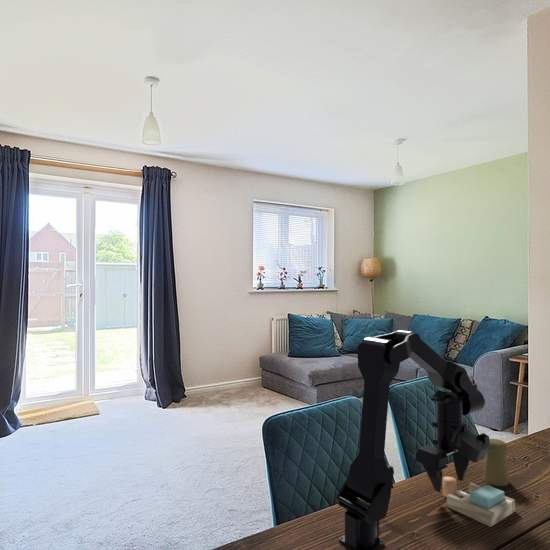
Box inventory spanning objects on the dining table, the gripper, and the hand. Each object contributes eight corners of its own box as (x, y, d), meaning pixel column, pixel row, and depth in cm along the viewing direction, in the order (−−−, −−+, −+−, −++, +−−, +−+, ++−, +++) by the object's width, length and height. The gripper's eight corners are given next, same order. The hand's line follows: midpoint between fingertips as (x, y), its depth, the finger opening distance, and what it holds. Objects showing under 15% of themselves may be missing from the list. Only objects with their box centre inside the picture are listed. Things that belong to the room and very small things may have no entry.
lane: (490, 531, 92) (490, 514, 92) (446, 510, 100) (446, 495, 100) (514, 515, 98) (514, 499, 98) (471, 497, 106) (471, 482, 106)
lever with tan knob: (487, 524, 94) (487, 501, 94) (435, 500, 104) (435, 479, 104) (504, 513, 98) (504, 491, 98) (452, 491, 108) (452, 471, 108)
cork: (483, 476, 117) (483, 434, 117) (510, 482, 114) (510, 438, 114) (481, 486, 112) (481, 442, 111) (508, 492, 108) (508, 446, 108)
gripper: (458, 437, 93) (458, 513, 93) (504, 419, 104) (504, 487, 104) (413, 423, 102) (413, 492, 102) (459, 408, 113) (459, 470, 113)
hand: (449, 485), depth 105 cm, fingers open, 9 cm apart
